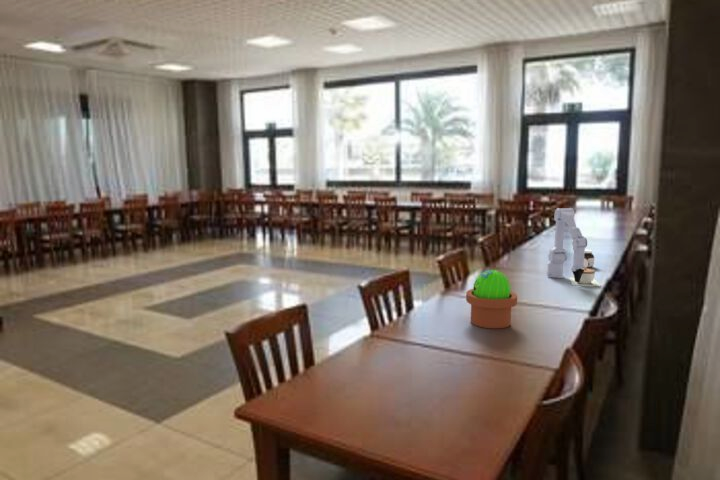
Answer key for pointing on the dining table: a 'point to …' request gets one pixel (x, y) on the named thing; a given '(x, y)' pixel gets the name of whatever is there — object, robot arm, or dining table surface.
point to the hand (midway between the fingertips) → (577, 281)
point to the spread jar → (588, 259)
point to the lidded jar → (587, 276)
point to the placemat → (593, 283)
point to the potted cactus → (491, 300)
